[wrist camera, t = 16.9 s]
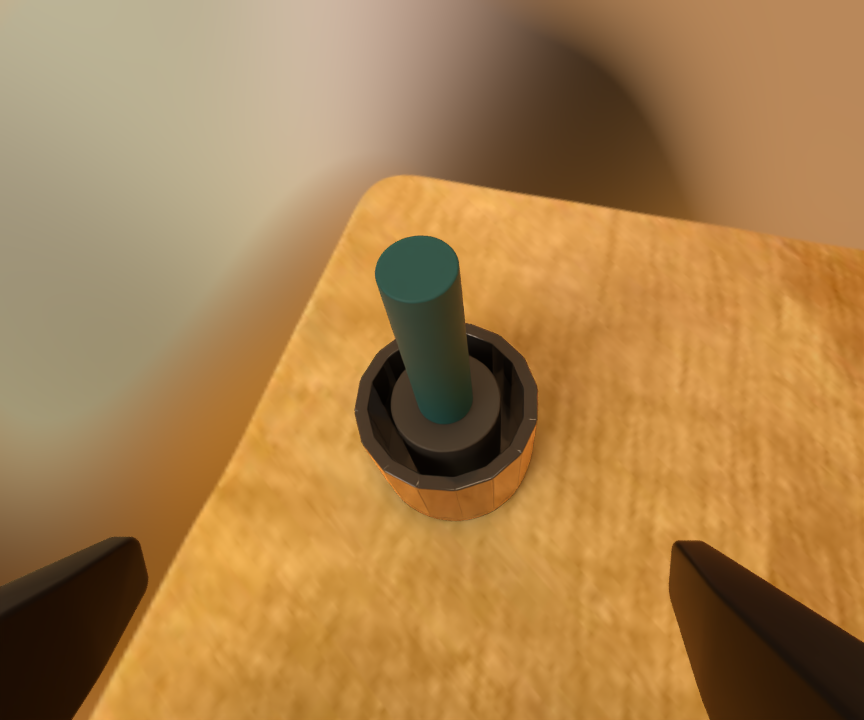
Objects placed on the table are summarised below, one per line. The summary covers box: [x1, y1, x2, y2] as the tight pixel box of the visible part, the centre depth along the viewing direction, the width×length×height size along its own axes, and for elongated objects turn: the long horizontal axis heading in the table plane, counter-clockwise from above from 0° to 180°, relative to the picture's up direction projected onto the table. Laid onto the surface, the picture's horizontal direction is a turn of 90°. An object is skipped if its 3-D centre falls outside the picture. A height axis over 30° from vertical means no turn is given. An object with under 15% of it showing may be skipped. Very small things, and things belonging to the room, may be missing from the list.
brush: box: [375, 236, 501, 477], centre depth 17 cm, size 4×4×12 cm
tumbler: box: [355, 323, 538, 521], centre depth 21 cm, size 7×7×5 cm
